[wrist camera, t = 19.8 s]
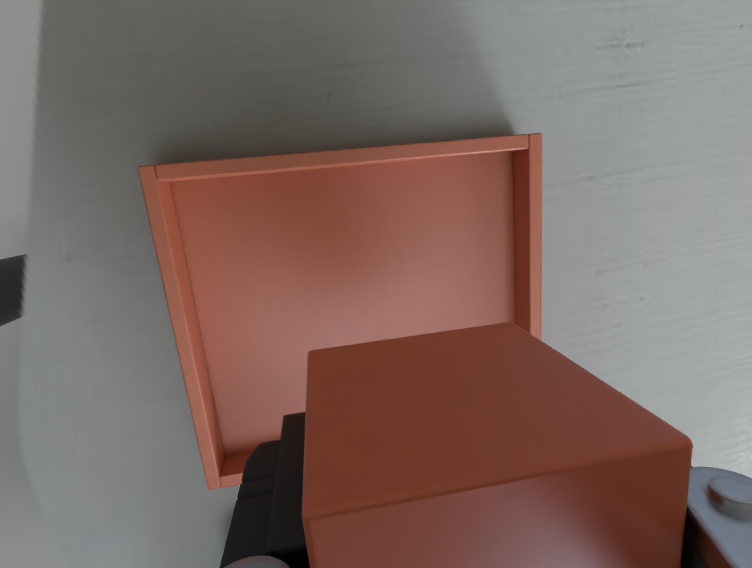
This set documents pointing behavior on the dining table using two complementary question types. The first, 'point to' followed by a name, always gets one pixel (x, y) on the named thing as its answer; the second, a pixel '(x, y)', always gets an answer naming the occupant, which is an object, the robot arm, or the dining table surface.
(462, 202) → the clay tray
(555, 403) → the clay block
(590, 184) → the dining table surface
